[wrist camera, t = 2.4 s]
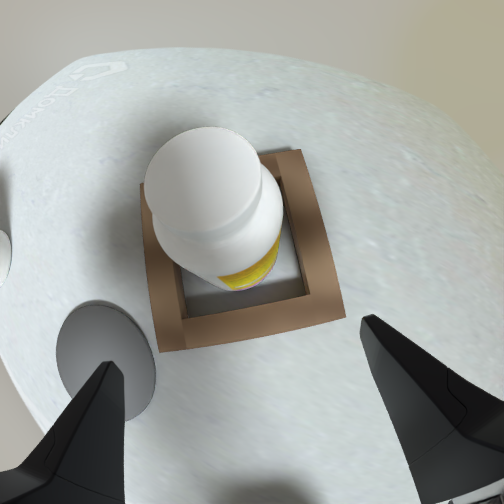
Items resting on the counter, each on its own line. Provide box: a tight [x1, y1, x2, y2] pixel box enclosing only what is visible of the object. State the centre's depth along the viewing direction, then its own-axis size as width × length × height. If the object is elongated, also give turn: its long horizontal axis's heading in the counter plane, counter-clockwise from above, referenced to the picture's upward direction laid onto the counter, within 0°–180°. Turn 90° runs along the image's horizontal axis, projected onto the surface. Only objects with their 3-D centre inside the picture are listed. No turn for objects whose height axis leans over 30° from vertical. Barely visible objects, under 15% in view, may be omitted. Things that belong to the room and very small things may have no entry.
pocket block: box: [140, 149, 346, 353], centre depth 22 cm, size 14×14×2 cm
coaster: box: [56, 305, 156, 421], centre depth 21 cm, size 11×11×1 cm
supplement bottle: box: [144, 127, 283, 291], centre depth 16 cm, size 7×7×13 cm
